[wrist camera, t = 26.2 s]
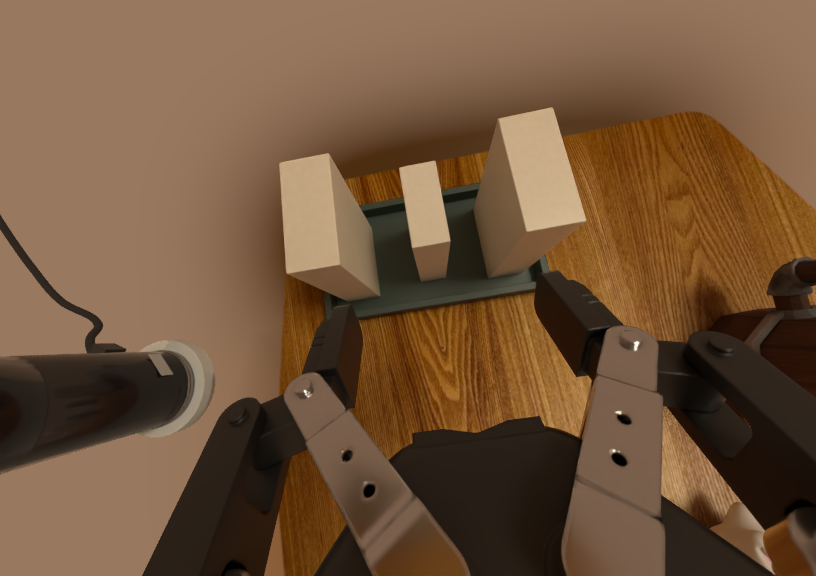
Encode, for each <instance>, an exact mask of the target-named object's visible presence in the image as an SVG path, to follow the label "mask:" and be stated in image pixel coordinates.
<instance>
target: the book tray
mask: <svg viewBox="0 0 816 576" xmlns="http://www.w3.org/2000/svg"><path fill="white" fill-rule="evenodd" d="M479 187H480V183H476V184H471V185H465V186H460V187H455V188H450V189H444V190H441V193H442V199H443V204H444V209H445V214H446V219H447V225H448V230H449V235H450V240H451V241H450V249H449V256H448V263H447V271H446V278H443V279H437V280H431V281H425V282H421V280H420V276H419V272H418V269H417V265H416V261H415V257H414V254H413V250H412V245H411V239H410V233H409V227H408V221H407V214H406V208H405V202H404V197H402V198H397V199H391V200H386V201H381V202H376V203H370V204H365V205H360V206H359V207H360V209H361V210H362V212H363V214H364V216H365V217H366V219H367V221H368V223H369V224H370V226H371V228H372V234H373V242H374V250H375V257H376V265H377V273H378V281H379V289H380V297H377V298H371V299H364V300H358V301H352V302H348V301H346V300H343V299H341V298H339V297H337V296H335V295H332V294H330V293H328V292H326V291H324V290H323V292H324V303H325V313H326V320H328V319H330V318H331V315H332V311H333V308H334V307H337V306H343V305H349V304H351V305H352V306H353V308H354V311H355V313H356V316H357V319H358V320H362V319H368V318H374V317H380V316H386V315H393V314H399V313H405V312H411V311H417V310H423V309H430V308H436V307H442V306H448V305H454V304H461V303H467V302H473V301H479V300H485V299H492V298H498V297H504V296H510V295H516V294H523V293H529V292H535V288H536V277H537V274H538V273H543V272H549V271H550V270H549V266H548V263H547V259H546V255H544V256H542V257H541V258H540V259H539V260H538V261H536V262H535V263H534V264H533V265H531V266H530V267H529V268H528V269H526V270H525V271H524V272H523V273H520V274H514V275H508V276H503V277H497V278H491V279H488V276H487V271H486V266H485V262H484V257H483V253H482V248H481V243H480V239H479V234H478V230H477V225H476V220H475V216H474V211H473V209H474V205H475V201H476V198H477V194H478V191H479Z"/></svg>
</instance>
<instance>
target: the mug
mask: <svg viewBox="0 0 816 576" xmlns="http://www.w3.org/2000/svg"><path fill="white" fill-rule="evenodd" d="M814 285H816V260H815V259H812V258H809V257H803V258H798V259H794V260H793V261H791V262H789V263H787V264H784V265H782V266H781V267H780V268H779V269H778V270H777V271H776V272H775V273H774V275H773V277H772V279H771V281H770V283H769V286H768V290H767V295H772V296H773V298H774V302H775V306H776V308H767V309H757V310H752V311H747V312H741V313H736V314H731V315H725V316H721V318H720V319H719V320H718V321H717V322H716V324H715V325H714V326H713V327H712V329H711V330H710V331H713V332H719V333H723V334H726V335H729V336H732V337H734V338H736V339H738V340H740V341H742V342H744V343H745V344H746V345H748V346H749V347H750V348H752V349H753V350H754V351H756V352H757V353H758V354H760V355H761V356H762V357H763V358H765V359H766V360H767V361H769V362H770V363H771V364H773V365H774V366H775V367H776V368H778V369H779V370H780V371H782V372H783V373H784V374H785V375H787V376H788V377H789V378H791V379H792V380H793V381H795V382H796V383H797V384H798V385H800V386H801V387H802V388H804V389H805V390H806V391H808V392H809V393H810V394H811V395H813V396H814V397H815V398H816V305H810V302H809V299H808V295H807V294H811V293H813V289H812V287H811V286H814ZM725 403H726V404H727V405H728V406H729V407H730V408H731V409H732V410H733V411H734V412H735V413H736V414H737V415H739V416H741V417H743V416H742V415H741V414H740V413H739V412H738V411H737V410H736V409H735V408H734V407H733V406H732V405H731V404H730V403H729V402H728V401H727V400H725ZM743 418H744V417H743Z"/></svg>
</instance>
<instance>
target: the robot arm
mask: <svg viewBox="0 0 816 576" xmlns="http://www.w3.org/2000/svg"><path fill="white" fill-rule="evenodd" d="M0 230H1V231H2V233H3V234H4V236H5V237H6V239H7V240H8V242H9V243H10V245H11V246H12V247H13V249H14V250H15V252H16V253H17V255H18V256H19V257H20V259H21V260H22V262H23V263H24V264H25V265H26V267H27V268H28V269H29V271H30V272H31V273H32V274H33V276H34V277H35V279H36V280H37V281H38V283H39V284H40V285H41V286H42V288H44V290H45V291H46V292H47V293H48V294H49V295H50V296H51V297H52V298H53V299H54V300H55V301H56V302H57V303H58V304H59V305H61V306H62V307H64V308H66V309H68V310H70V311H72V312H74V313H76V314H79V315H81V316H83V317H85V318H87V319H89V320H90V321H91V322H92V323H93V325H94V328H93V329H92V330H91V331H90V332H89V333H88V335H87V336H86V339H85V347H86V351H87V354H60V355H59V354H58V355H28V356H6V357H5V356H4V357H0V475H1V474H4V473H7V472H11V471H14V470H17V469H20V468H24V467H27V466H30V465H33V464H37V463H40V462H43V461H47V460H50V459H53V458H56V457H60V456H63V455H66V454H70V453H73V452H76V451H80V450H83V449H86V448H89V447H93V446H96V445H99V444H102V443H106V442H109V441H112V440H116V439H118V438H122V437H125V436H129V435H132V434H135V433H139V432H142V431H145V430H149V429H154V428H158V427H162V426H165V425H168V424H170V423H172V422H173V421H175V420H176V419H178V418H179V417H180V416H181V415H182V414H183V413H184V411H185V410H186V409H187V407H188V406H189V404H190V402H191V399H192V396H193V393H194V386H195V379H194V373H193V370H192V367H191V365H190V363H189V362H188V361H187V359H186V358H185V357H183V356H182V355H181V354H179V353H177V352H174V351H170V350H158V351H152V352H125V351H126V349H125V348H123V347H121V346H119V345H117V344H95V337H96V336H97V335H98V334H99V333H100V331H101V330H102V328H103V323H102V322H101V320H100V319H99V318H98V317H97V316H96V315H94V314H93V313H91V312H89V311H87V310H84V309H82V308H80V307H77V306H75V305H73V304H71V303H69V302H68V301H66V300H65V299H64V298H63V297H62V296H60V295H59V294H58V293H57V292H56V291H55V290H54V289H53V287H52V286H51V285H50V284H49V283H48V281H47V280H46V279H45V278H44V276H43V275H42V274H41V272H40V271H39V270H38V268H37V267H36V266H35V265H34V263H33V262H32V261H31V259H30V258H29V257H28V255H27V254H26V252H25V251H24V250H23V248H22V247H21V245H20V244H19V242H18V241H17V240H16V238H15V237H14V235H13V234H12V232H11V231H10V229H9V228H8V226H7V225H6V223H5V222H4V220H3V219H2V217H1V215H0ZM534 306H535V311H536V314H537V316H538V318H539V319H540V321H541V323H542V324H543V326H544V327H545V329H546V330H547V332H548V333H549V335H550V337H551V338H552V340H553V341H554V343H555V344H556V346H557V347H558V349H559V351H560V352H561V354H562V355H563V357H564V358H565V360H566V361H567V363H568V364H569V366H570V368H571V369H572V371H573V372H574V374H575V375H576V377H580V376H587V375H589V377H590V378H591V380H592V382H591V386H590V390H589V395H588V399H587V403H586V408H585V412H584V416H583V421H582V425H581V429H580V433H579V437H576V436H574V435H572V434H570V433H568V432H565V431H562V430H559V429H556V428H551V427H546V426H544V425H543V423H542V420H541V418H540V416H537V417H529V418H522V419H514V420H508V421H505V422H503V423H500V424H498V425H496V426H493V427H491V428H488V429H486V430H484V431H481V432H479V433H471V432H463V431H455V430H446V429H440V430H433V431H426V432H418V433H413V443H412V444H410V445H408V446H406V447H405V448H403V449H401V450H400V451H399V452H397V453H396V454H395V455H394V456H393V457H392V458H391V459H389V461H388V460H387V458H386V457H385V456H384V454H383V453H382V452H381V450H380V449H379V448H378V446H377V445H376V444H375V442H374V441H373V440H372V439H371V437H370V436H369V435H368V433H367V432H366V431H365V429H364V428H363V427H362V425H361V424H360V423H359V421H358V420H357V419H356V418H355V416H354V415H353V414H352V412H351V411H350V410H349V408H355V402H356V395H357V387H358V379H359V371H360V363H361V355H362V347H363V335H362V330H361V327H360V325H359V322H358V319H357V316H356V313H355V311H354V308H353V306H352V305H351V304H349V305H343V306H337V307H334V308H333V311H332V315H331V318H330V319H328V320H324V321H323V322H322V323H321V324H320V326H319V327H318V328H317V330H316V333H315V336H314V340H313V342H312V345H311V346H312V347H311V348H310V351H309V354H308V357H307V360H306V363H305V366H304V369H303V372H302V375H300V376H299V377H297V378H296V379H294V380H293V381H292V382H291V383H290V384H289V385H288V387H287V388H286V390H285V393H284V394H283V395H281V396H279V397H277V398H274V399H272V400H270V401H268V402H265V403H263V404H260V403H259V402H258V401H257V399H255V398H244V399H241V400H238V401H237V402H235V403H233V404H232V405H230V406H229V407H228V408H227V409H226V410H225V411H224V412H223V413H222V414H221V416H220V417H219V419H218V421H217V423H216V425H215V427H214V429H213V431H212V433H211V435H210V437H209V439H208V441H207V443H206V445H205V447H204V449H203V451H202V454H201V456H200V458H199V460H198V462H197V464H196V466H195V468H194V470H193V472H192V474H191V476H190V478H189V480H188V482H187V485H186V487H185V489H184V491H183V493H182V495H181V497H180V499H179V501H178V503H177V505H176V507H175V509H174V511H173V513H172V515H171V517H170V520H169V522H168V524H167V526H166V528H165V530H164V532H163V534H162V536H161V538H160V540H159V542H158V544H157V546H156V549H155V550H154V552H153V555H152V557H151V559H150V561H149V563H148V565H147V567H146V569H145V571H144V573H143V575H142V576H264V573H265V568H266V564H267V560H268V555H269V550H270V546H271V542H272V538H273V533H274V529H275V525H276V520H277V516H278V512H279V507H280V503H281V499H282V494H283V490H284V486H285V481H286V477H287V473H288V468H289V464H290V460H291V456H294V455H296V454H298V453H300V452H302V451H304V450H306V449H308V450H309V452H310V454H311V456H312V458H313V460H314V462H315V463H316V465H317V467H318V469H319V471H320V473H321V475H322V477H323V479H324V481H325V483H326V484H327V486H328V488H329V490H330V492H331V494H332V496H333V498H334V500H335V502H336V504H337V505H338V507H339V509H340V511H341V513H342V515H343V517H344V519H345V521H346V523H347V524H346V526H345V527H344V529H343V531H342V532H341V534H340V535H339V537H338V538H337V540H336V542H335V543H334V545H333V546H332V548H331V549H330V551H329V553H328V554H327V556H326V557H325V559H324V560H323V562H322V564H321V565H320V567H319V568H318V570H317V571H316V573H315V575H314V576H816V398H815V397H814V396H813V395H811V394H810V393H809V392H808V391H806V390H805V389H804V388H802V387H801V386H800V385H798V384H797V383H796V382H795V381H793V380H792V379H791V378H789V377H788V376H787V375H785V374H784V373H783V372H782V371H780V370H779V369H778V368H776V367H775V366H774V365H773V364H771V363H770V362H769V361H767V360H766V359H765V358H763V357H762V356H761V355H760V354H758V353H757V352H756V351H754V350H753V349H752V348H750V347H749V346H748V345H746V344H745V343H744V342H742V341H740V340H738V339H736V338H734V337H732V336H729V335H726V334H723V333H719V332H713V331H699V332H695V333H693V334H692V335H691V336H690V337H689V339H688V341H687V343H682V342H669V341H658V340H656V339H655V338H654V337H653V336H652V335H650V334H649V333H647V332H646V331H644V330H642V329H639V328H636V327H632V326H625V325H623V324H622V323H621V322H620V321H619V320H618V319H617V318H616V317H615V316H614V315H613V314H612V313H611V312H610V311H609V310H608V309H607V308H606V307H605V306H604V305H603V304H602V303H601V302H599V300H598V299H597V298H596V297H595V296H593V293H592V292H591V291H590V290H589V289H588V288H587V287H586V286H584V285H582V284H580V283H578V282H576V281H574V280H567V279H566V278H565V277H564V276H563V275H562V274H561V273H560V272H559V271H558V270H555V271H549V272H543V273H538V274H537V277H536V288H535V299H534ZM725 400H727V401H728V402H729V403H730V404H731V405H732V406H733V407H734V408H735V409H736V410H737V411H738V412H739V413H740V414H741V415H742V416H743V417H744V418H745V419H746V420H747V421H748V423H749V424H750V426H751V428H750V427H749V426H748V425H747V424H746V423H745V422H744V421H743V420H742V419H741V418H740V417H739V416H738V415H737V414H736V413H735V412H734V411H733V410H732V409H731V408H730V407H729V406H728V405H727V404H726V403H725ZM663 406H666V407H667V408H668V409H669V410H670V412H671V413H672V414H673V416H674V417H675V418H676V419H677V421H678V422H679V423H680V424H681V426H682V427H683V428H684V429H685V431H686V432H687V433H688V434H689V436H690V437H691V438H692V440H693V441H694V442H695V443H696V445H697V446H698V447H699V448H700V450H701V451H702V452H703V453H704V455H705V456H706V457H707V458H708V460H709V461H710V462H711V464H712V465H713V466H714V467H715V469H716V470H717V471H718V472H719V474H720V475H721V476H722V477H723V479H724V480H725V481H726V482H727V484H728V485H729V486H730V488H731V489H732V490H733V491H734V493H735V494H736V495H737V496H738V498H739V499H740V500H741V501H742V503H743V504H744V505H745V506H746V508H747V509H748V510H749V512H750V513H751V514H752V515H753V517H754V518H755V519H756V520H757V522H758V523H759V524H760V525H761V527H762V528H763V529H764V530H765V532H764V534H763V544H764V547H765V550H766V552H767V555H768V557H769V558H770V560H771V561H772V563H771V566H772V570H773V572H774V573H775V574H773V573H772V572H770V571H769V570H768V569H766V568H765V567H764V566H762V565H761V564H759V563H758V562H756V561H755V560H754V559H752V558H751V557H749V556H748V555H746V554H745V553H744V552H742V551H741V550H739V549H738V548H736V547H735V546H734V545H732V544H731V543H729V542H728V541H726V540H725V539H724V538H722V537H721V536H719V535H718V534H716V533H715V532H714V531H712V530H711V529H709V528H708V527H706V526H705V525H704V524H702V523H701V522H699V521H698V520H696V519H695V518H694V517H692V516H691V515H689V514H688V513H686V512H685V511H683V510H682V509H681V508H679V507H678V506H676V505H675V504H673V503H672V502H671V501H669V500H668V499H666V498H665V497H663V496H662V495H661V474H662V426H663Z"/></svg>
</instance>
